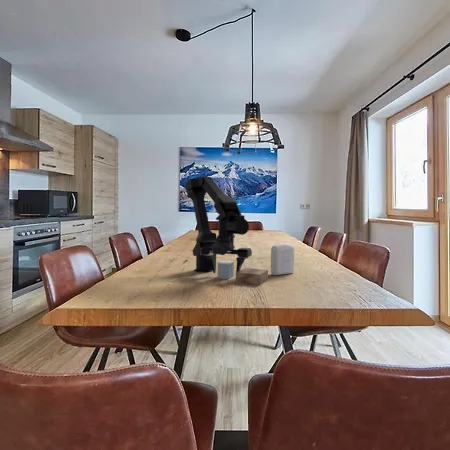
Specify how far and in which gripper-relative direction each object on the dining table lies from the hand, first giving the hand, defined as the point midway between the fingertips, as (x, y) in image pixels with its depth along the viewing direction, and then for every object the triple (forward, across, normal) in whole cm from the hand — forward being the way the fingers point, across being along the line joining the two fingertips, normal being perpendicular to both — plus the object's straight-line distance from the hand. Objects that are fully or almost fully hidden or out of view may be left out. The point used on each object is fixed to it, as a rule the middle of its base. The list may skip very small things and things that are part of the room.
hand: (225, 274), depth 127 cm
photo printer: (+2, +18, +16) cm, 24 cm away
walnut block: (+2, +11, -2) cm, 11 cm away
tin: (+1, 0, 0) cm, 1 cm away
